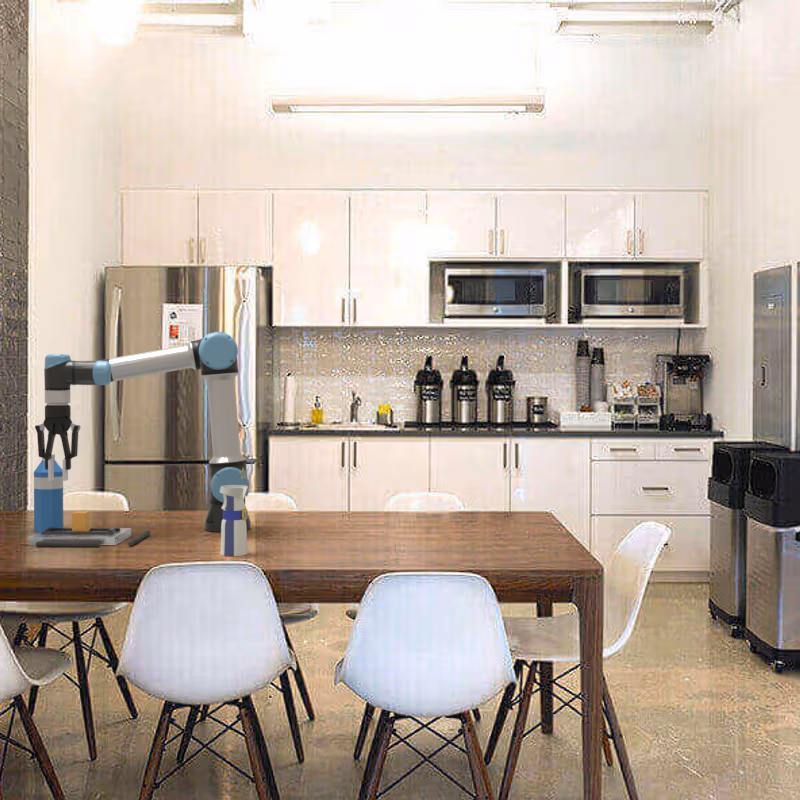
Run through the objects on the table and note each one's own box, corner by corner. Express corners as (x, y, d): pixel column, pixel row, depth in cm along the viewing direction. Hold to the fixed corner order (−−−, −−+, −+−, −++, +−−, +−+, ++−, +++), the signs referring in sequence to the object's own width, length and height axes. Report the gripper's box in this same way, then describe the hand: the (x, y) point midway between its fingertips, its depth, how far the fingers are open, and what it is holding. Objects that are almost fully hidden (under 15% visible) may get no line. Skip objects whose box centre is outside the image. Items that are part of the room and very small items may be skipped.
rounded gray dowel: (145, 535, 321) (145, 530, 321) (150, 535, 321) (150, 530, 321) (127, 546, 300) (127, 541, 300) (132, 546, 300) (132, 541, 300)
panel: (131, 535, 320) (131, 524, 320) (115, 545, 302) (115, 532, 302) (49, 535, 320) (49, 523, 320) (28, 545, 302) (28, 532, 302)
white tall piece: (253, 551, 292) (253, 465, 292) (242, 556, 284) (242, 468, 283) (227, 550, 294) (226, 465, 294) (215, 555, 286) (215, 467, 285)
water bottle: (54, 533, 326) (53, 455, 325) (28, 532, 328) (27, 455, 327) (69, 528, 335) (68, 453, 334) (43, 527, 337) (43, 453, 336)
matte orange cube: (90, 530, 314) (90, 511, 314) (85, 532, 309) (85, 513, 309) (77, 530, 314) (77, 510, 314) (72, 532, 309) (71, 513, 309)
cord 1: (100, 546, 301) (99, 541, 300) (98, 547, 299) (98, 542, 299) (36, 546, 301) (36, 541, 301) (34, 547, 299) (34, 541, 299)
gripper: (88, 404, 314) (89, 479, 315) (34, 404, 314) (35, 479, 315) (81, 404, 306) (81, 481, 307) (25, 404, 306) (26, 481, 307)
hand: (58, 480), depth 311 cm, fingers open, 4 cm apart
